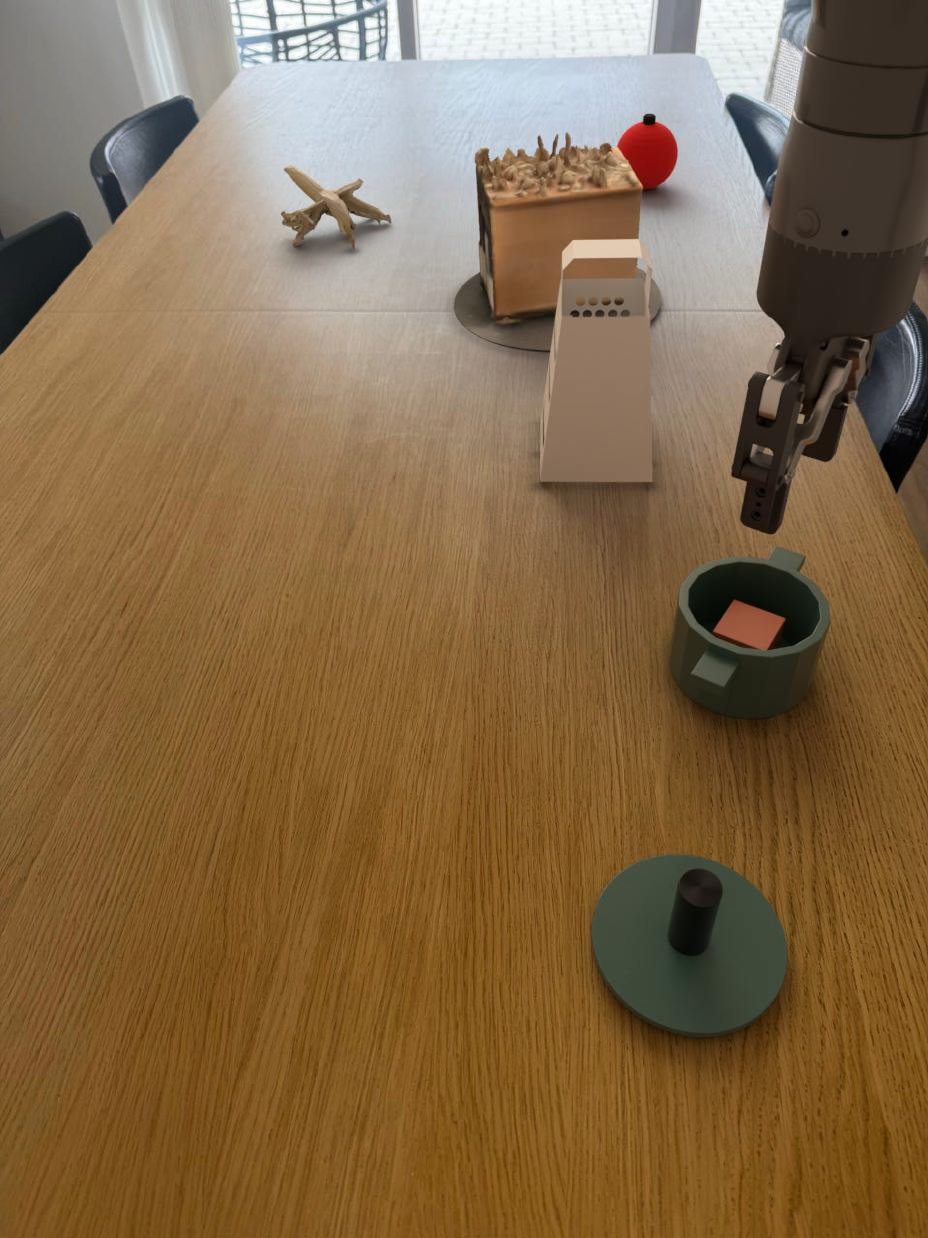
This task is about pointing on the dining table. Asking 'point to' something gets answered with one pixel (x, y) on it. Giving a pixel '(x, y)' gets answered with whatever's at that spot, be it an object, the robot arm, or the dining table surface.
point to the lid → (689, 945)
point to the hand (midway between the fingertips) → (788, 489)
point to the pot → (745, 674)
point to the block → (750, 627)
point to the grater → (599, 376)
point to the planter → (547, 238)
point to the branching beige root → (328, 207)
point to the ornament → (649, 151)
